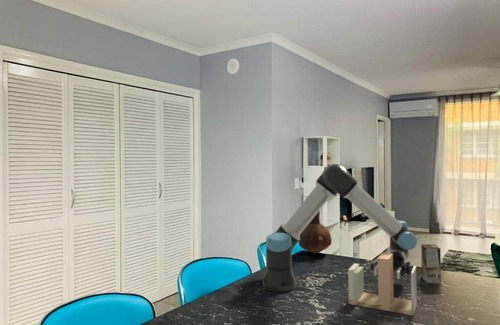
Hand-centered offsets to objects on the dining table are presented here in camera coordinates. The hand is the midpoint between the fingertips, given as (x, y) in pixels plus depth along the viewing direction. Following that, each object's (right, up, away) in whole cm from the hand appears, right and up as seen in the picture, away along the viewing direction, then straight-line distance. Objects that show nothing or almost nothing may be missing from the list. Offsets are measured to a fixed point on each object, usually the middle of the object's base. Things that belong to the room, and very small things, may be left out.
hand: (386, 273), depth 142 cm
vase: (-13, -13, +81) cm, 83 cm away
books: (-10, -11, +7) cm, 16 cm away
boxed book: (0, -11, +1) cm, 11 cm away
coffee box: (+32, -12, +29) cm, 45 cm away
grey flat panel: (+9, -11, -4) cm, 15 cm away
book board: (-1, -13, +2) cm, 13 cm away
